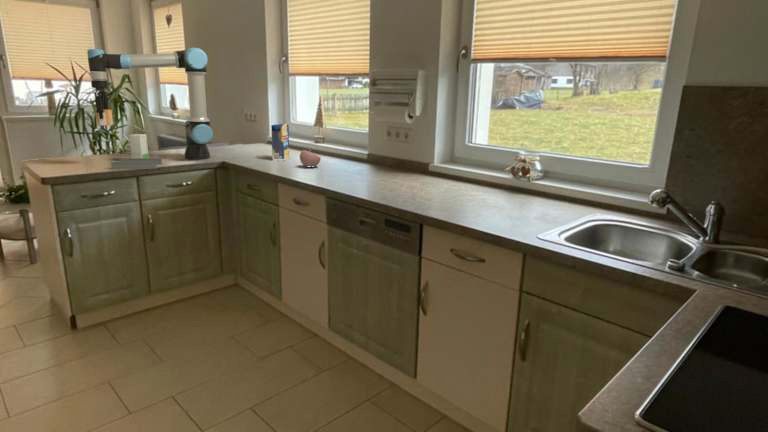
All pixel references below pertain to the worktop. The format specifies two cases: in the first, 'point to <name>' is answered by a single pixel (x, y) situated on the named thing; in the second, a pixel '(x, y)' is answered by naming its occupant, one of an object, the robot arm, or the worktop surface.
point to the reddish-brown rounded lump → (309, 158)
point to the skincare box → (138, 146)
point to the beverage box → (280, 141)
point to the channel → (136, 163)
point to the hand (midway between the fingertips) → (104, 124)
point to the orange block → (106, 118)
